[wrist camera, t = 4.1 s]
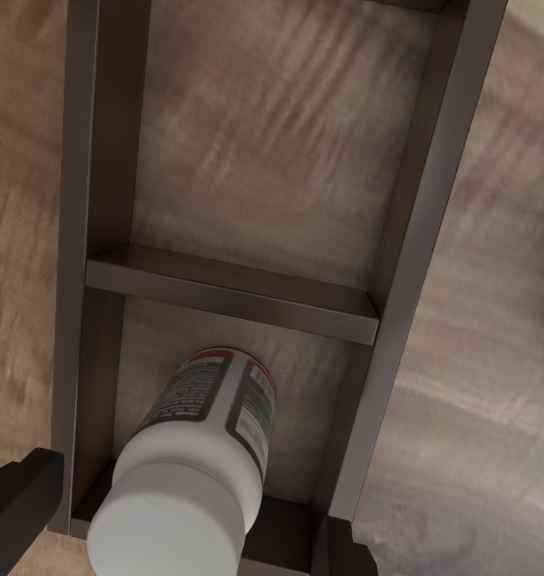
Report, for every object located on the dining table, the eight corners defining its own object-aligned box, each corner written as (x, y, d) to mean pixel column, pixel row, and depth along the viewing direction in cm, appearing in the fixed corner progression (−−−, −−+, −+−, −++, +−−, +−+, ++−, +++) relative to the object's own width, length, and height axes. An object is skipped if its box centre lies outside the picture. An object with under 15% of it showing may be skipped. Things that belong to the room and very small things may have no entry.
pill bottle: (161, 415, 19) (50, 590, 11) (193, 328, 18) (92, 453, 10) (255, 453, 19) (213, 654, 11) (293, 369, 18) (277, 527, 10)
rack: (90, 472, 20) (45, 531, 17) (130, -74, 14) (72, -155, 11) (326, 527, 20) (329, 598, 16) (477, -16, 13) (533, -81, 10)
